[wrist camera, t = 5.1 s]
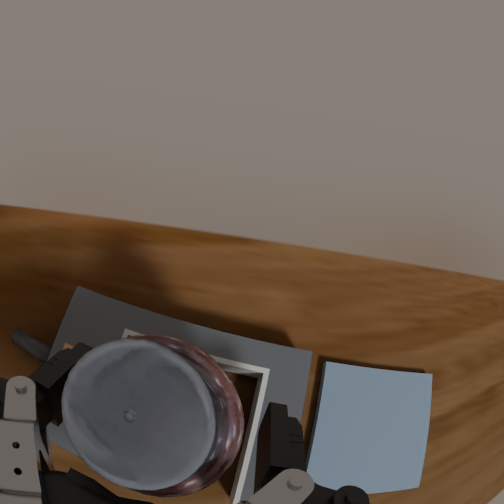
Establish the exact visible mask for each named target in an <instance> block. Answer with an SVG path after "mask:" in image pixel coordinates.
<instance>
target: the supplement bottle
mask: <svg viewBox="0 0 504 504" xmlns="http://www.w3.org/2000/svg"><path fill="white" fill-rule="evenodd" d="M61 404H62V417H63V424H64V427H65V430H66V432H67V436H68V438H69V440H70V442H71V444H72V446H73V447H74V449H75V451H76V452H77V454H78V455H79V456H80V458H81V459H82V460H83V461H84V462H85V463H86V464H87V465H88V466H89V467H90V468H91V469H93V470H94V471H95V472H96V473H97V474H99V475H100V476H102V477H103V478H105V479H107V480H109V481H111V482H113V483H116V484H118V485H120V486H123V487H126V488H128V489H130V490H133V491H136V492H139V493H142V494H145V495H151V496H158V497H178V496H183V495H188V494H191V493H194V492H197V491H199V490H202V489H204V488H206V487H207V486H210V484H212V483H214V482H215V481H216V480H218V479H219V478H220V477H221V476H222V475H223V474H224V473H225V472H226V471H227V470H228V469H229V468H230V467H231V466H232V464H233V462H234V460H235V458H236V456H237V454H238V452H239V450H240V446H241V444H242V439H243V433H244V412H243V407H242V404H241V401H240V398H239V395H238V392H237V390H236V388H235V386H234V384H233V382H232V380H231V379H230V378H229V376H228V375H227V373H226V372H225V371H224V370H223V368H222V367H221V366H220V365H219V364H218V363H217V362H216V361H215V360H214V359H213V358H212V357H211V356H209V355H208V354H207V353H206V352H204V351H203V350H201V349H199V348H198V347H196V346H194V345H192V344H190V343H187V342H185V341H183V340H181V339H178V338H174V337H171V336H165V335H156V334H140V335H134V336H130V337H127V338H122V339H118V340H111V341H108V342H106V343H104V344H101V345H99V346H96V347H94V348H93V349H91V350H90V351H88V352H87V353H85V354H84V355H83V356H82V357H81V358H80V359H79V360H78V361H77V363H76V364H75V365H74V367H73V368H72V369H71V371H70V372H69V375H68V378H67V380H66V382H65V385H64V389H63V393H62V400H61Z"/></svg>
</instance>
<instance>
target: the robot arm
mask: <svg viewBox="0 0 504 504" xmlns="http://www.w3.org/2000/svg"><path fill="white" fill-rule="evenodd" d="M91 349H93V347H90V346H88V345H86V344H84V343H81V342H79V343H78V344H77V345H75V346H74V347H73V348H72V349H70V348H66V349H64V350H61V351H59V352H57V353H56V354H55V355H54V356H53V357H52V358H50V359H49V360H48V361H47V362H45V363H44V364H43V365H42V366H41V367H40V368H38V369H37V370H36V371H35V372H34V373H33V374H31V375H30V376H29V377H24V376H16V377H13V378H11V379H10V380H7V379H4V378H1V377H0V504H153V503H150V502H146V501H139V500H133V499H127V498H122V497H118V496H116V495H115V494H113V493H112V492H111V491H109V490H108V489H106V488H105V487H103V486H102V485H101V484H99V483H98V482H97V481H95V480H94V479H92V478H90V477H88V476H86V475H84V474H82V473H80V472H78V471H76V470H74V469H72V468H70V470H69V471H68V473H66V472H61V471H55V470H54V467H53V464H52V459H51V453H50V446H49V438H48V429H47V425H48V424H49V423H50V422H51V423H52V424H54V425H56V426H57V427H59V425H60V424H61V423H62V422H63V417H62V404H61V400H62V393H63V389H64V385H65V382H66V380H67V378H68V375H69V372H70V371H71V369H72V368H73V367H74V365H75V364H76V363H77V361H78V360H79V359H80V358H81V357H82V356H83V355H84V354H85V353H87V352H88V351H90V350H91ZM303 443H304V441H303V431H302V426H301V424H300V422H299V421H298V419H297V418H296V417H289V416H288V408H287V405H285V404H279V403H274V402H269V404H268V406H267V409H266V412H265V414H264V417H263V419H262V422H261V424H260V427H259V431H258V437H257V451H256V466H255V480H254V493H253V496H251V497H250V498H249V499H247V500H246V501H240V502H238V503H237V504H370V503H369V498H368V495H367V494H366V492H365V491H364V490H362V489H361V488H359V487H357V486H352V485H347V486H343V487H341V488H339V489H338V490H334V489H330V488H327V487H323V486H320V485H318V484H316V483H315V482H314V481H313V479H312V477H311V476H310V475H309V474H308V473H307V470H306V460H305V450H304V444H303Z"/></svg>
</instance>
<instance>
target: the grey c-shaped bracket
mask: <svg viewBox="0 0 504 504" xmlns="http://www.w3.org/2000/svg"><path fill="white" fill-rule="evenodd" d="M140 334H156V335H165V336H171V337H174V338H178V339H181V340H183V341H185V342H187V343H190V344H192V345H194V346H196V347H198V348H199V349H201V350H203V351H204V352H206V353H207V354H208V355H209V356H211V357H212V358H213V359H214V360H215V361H216V362H217V363H218V364H219V365H220V366H221V367H222V368H223V370H224V371H228V372H233V373H237V374H241V375H245V376H250V377H255V378H258V380H257V384H256V389H255V393H254V398H253V402H252V407H251V411H250V416H249V420H248V424H247V429H246V433H245V437H244V441H243V446H242V450H241V454H240V458H239V462H238V466H237V470H236V474H235V478H234V482H233V486H232V490H231V494H230V497H229V498H230V503H231V504H237V503H238V502H240V501H246V500H247V499H249V498H250V497H251V496H253V493H254V480H255V466H256V451H257V437H258V431H259V427H260V424H261V422H262V419H263V417H264V414H265V412H266V409H267V406H268V404H269V402H274V403H279V404H285V405H287V408H288V416H289V417H296V418H297V419H298V421H299V422H301V417H302V411H303V406H304V400H305V395H306V389H307V383H308V377H309V371H310V364H311V358H312V351H307V350H302V349H296V348H291V347H287V346H282V345H277V344H272V343H268V342H263V341H259V340H255V339H250V338H246V337H242V336H238V335H234V334H230V333H226V332H222V331H218V330H214V329H211V328H207V327H203V326H200V325H196V324H192V323H189V322H185V321H182V320H178V319H175V318H172V317H168V316H165V315H162V314H159V313H155V312H152V311H149V310H146V309H143V308H140V307H137V306H134V305H131V304H128V303H125V302H122V301H119V300H116V299H113V298H110V297H107V296H105V295H102V294H99V293H96V292H94V291H91V290H88V289H86V288H83V287H80V286H77V288H76V290H75V293H74V295H73V297H72V299H71V301H70V304H69V306H68V308H67V311H66V313H65V315H64V318H63V320H62V323H61V325H60V328H59V330H58V333H57V335H56V338H55V341H54V343H53V346H52V347H50V346H48V345H46V344H45V343H43V342H41V341H39V340H37V339H36V338H34V337H32V336H30V335H29V334H27V333H25V332H24V331H22V330H20V329H16V330H15V331H14V332H13V334H12V342H13V344H15V345H16V346H18V347H19V348H21V349H23V350H24V351H26V352H27V353H29V354H31V355H32V356H34V357H36V358H37V359H39V360H41V361H42V362H44V363H45V362H47V361H48V360H49V359H50V358H52V357H53V356H54V355H55V354H56V353H57V352H59V351H61V350H64V349H66V348H70V349H72V348H73V347H74V346H75V345H77V344H78V343H79V342H81V343H84V344H86V345H88V346H90V347H93V348H94V347H96V346H99V345H101V344H104V343H106V342H108V341H111V340H118V339H122V338H127V337H130V336H134V335H140ZM47 429H48V438H49V440H50V441H52V442H54V443H55V444H57V445H59V446H60V447H62V448H64V449H66V450H68V451H69V452H71V453H73V454H75V455H77V456H79V455H78V454H77V452H76V451H75V449H74V447H73V446H72V444H71V442H70V440H69V438H68V436H67V432H66V430H65V427H64V424H63V422H62V423H61V424H60V425H59V427H57V426H56V425H54V424H52V423H51V422H50V423H49V424H48V425H47ZM79 457H80V456H79Z"/></svg>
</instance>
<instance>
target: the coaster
mask: <svg viewBox="0 0 504 504" xmlns="http://www.w3.org/2000/svg"><path fill="white" fill-rule="evenodd" d="M431 394H432V374H425V373H413V372H402V371H393V370H384V369H376V368H368V367H360V366H353V365H346V364H340V363H334V362H328V361H326V362H324V363H323V368H322V375H321V382H320V389H319V395H318V401H317V407H316V413H315V418H314V424H313V429H312V434H311V439H310V444H309V449H308V453H307V458H306V470H307V473H308V474H309V475H310V476H311V477H312V479H313V481H314V482H315V483H316V484H318V485H320V486H323V487H327V488H330V489H334V490H338V489H339V488H341V487H343V486H347V485H352V486H357V487H359V488H361V489H362V490H364V491H365V492H366V494H370V493H381V492H390V491H398V490H405V489H411V488H417V487H419V483H420V479H421V474H422V468H423V463H424V457H425V451H426V444H427V437H428V429H429V419H430V408H431Z"/></svg>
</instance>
